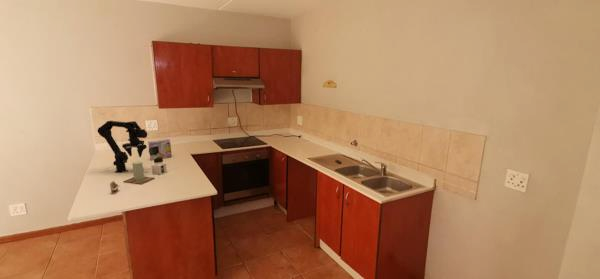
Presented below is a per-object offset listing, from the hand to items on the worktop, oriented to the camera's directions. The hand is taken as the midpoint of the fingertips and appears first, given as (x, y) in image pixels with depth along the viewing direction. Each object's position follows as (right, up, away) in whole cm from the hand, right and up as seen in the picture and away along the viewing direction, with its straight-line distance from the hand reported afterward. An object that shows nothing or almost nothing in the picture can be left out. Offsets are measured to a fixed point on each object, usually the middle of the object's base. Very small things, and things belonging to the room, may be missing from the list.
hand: (135, 156), depth 234 cm
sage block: (+12, -16, -16) cm, 25 cm away
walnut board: (+12, -17, -16) cm, 26 cm away
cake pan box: (0, -4, +42) cm, 43 cm away
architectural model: (+7, -22, -37) cm, 43 cm away
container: (+18, -13, +2) cm, 23 cm away
